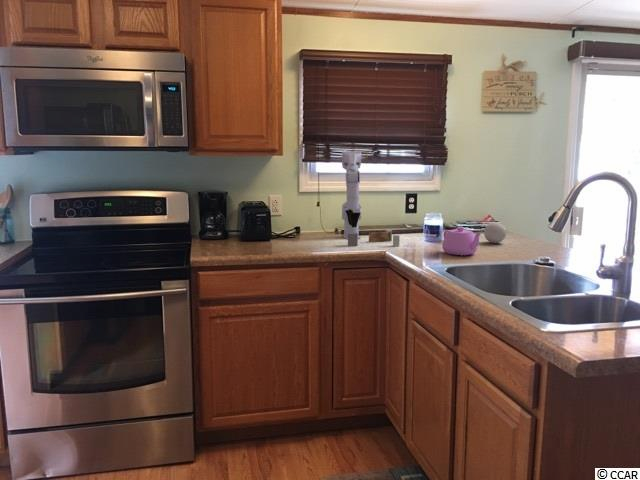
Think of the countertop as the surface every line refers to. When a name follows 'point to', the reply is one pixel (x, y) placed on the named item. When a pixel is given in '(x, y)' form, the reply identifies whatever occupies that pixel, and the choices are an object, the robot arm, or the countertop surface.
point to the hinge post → (391, 233)
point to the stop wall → (395, 240)
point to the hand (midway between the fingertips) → (352, 226)
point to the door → (380, 237)
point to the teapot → (460, 241)
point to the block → (352, 239)
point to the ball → (495, 232)
